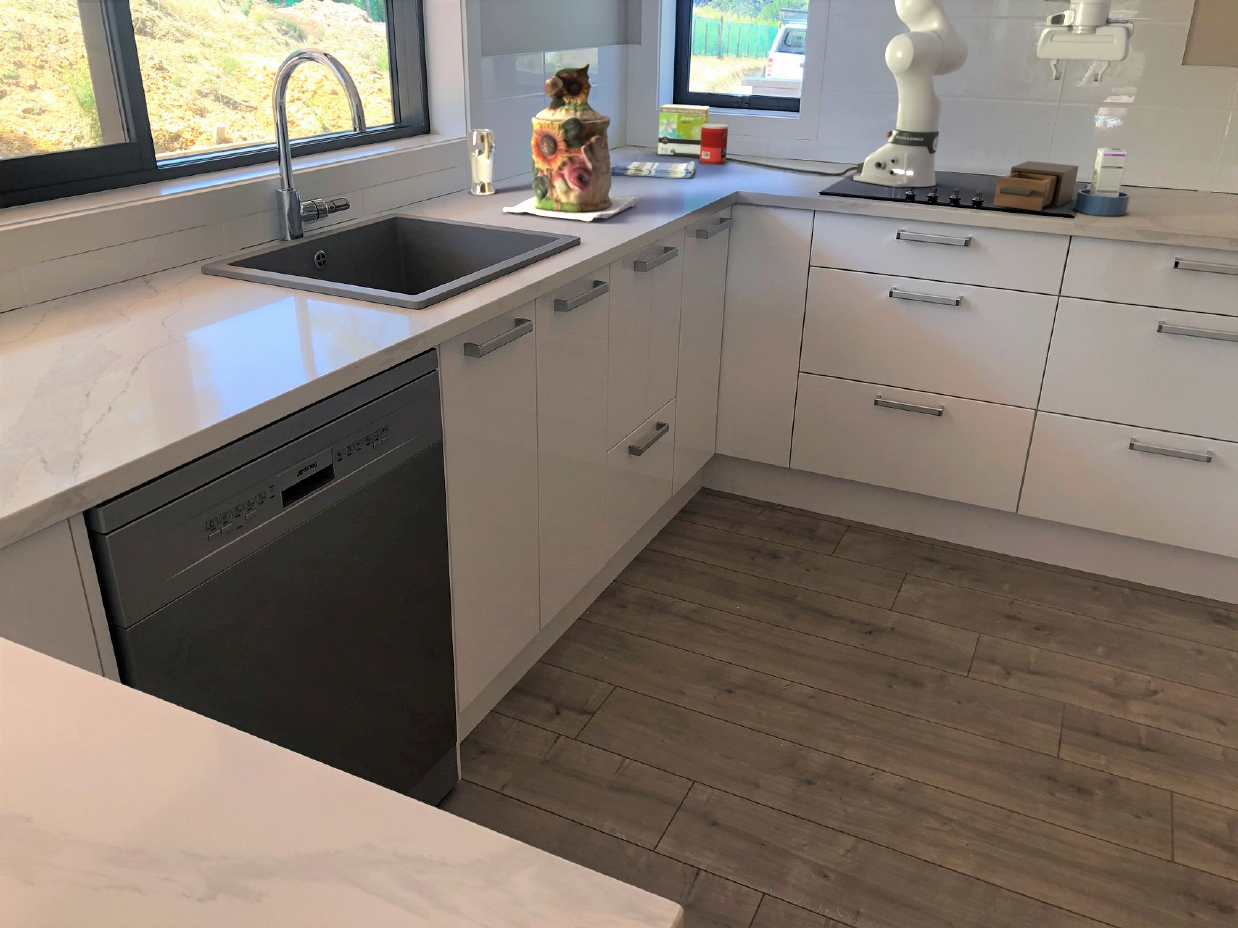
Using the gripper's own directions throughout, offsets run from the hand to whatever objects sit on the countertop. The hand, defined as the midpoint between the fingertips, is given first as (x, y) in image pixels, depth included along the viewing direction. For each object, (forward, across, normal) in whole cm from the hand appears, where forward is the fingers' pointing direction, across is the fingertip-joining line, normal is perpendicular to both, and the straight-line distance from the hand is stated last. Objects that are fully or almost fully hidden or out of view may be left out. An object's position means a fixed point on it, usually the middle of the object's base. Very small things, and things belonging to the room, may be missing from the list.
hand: (1076, 80), depth 243 cm
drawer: (+28, +5, +12) cm, 31 cm away
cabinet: (+29, +5, -3) cm, 30 cm away
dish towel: (+28, +104, +29) cm, 111 cm away
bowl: (+30, -11, +2) cm, 32 cm away
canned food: (+28, +102, 0) cm, 105 cm away
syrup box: (+30, -11, +2) cm, 32 cm away
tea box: (+28, +119, -9) cm, 122 cm away
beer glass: (+28, +116, +86) cm, 147 cm away
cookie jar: (+28, +85, +88) cm, 126 cm away
